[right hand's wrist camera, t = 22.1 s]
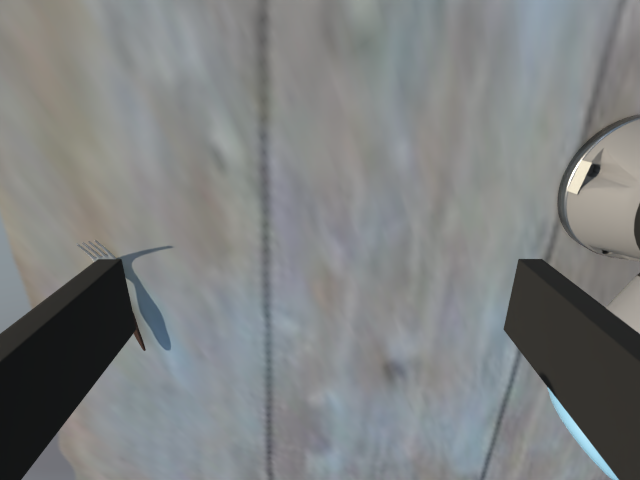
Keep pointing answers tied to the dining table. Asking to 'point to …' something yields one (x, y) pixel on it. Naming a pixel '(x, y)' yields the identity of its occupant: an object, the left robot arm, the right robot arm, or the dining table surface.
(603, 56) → the dining table surface
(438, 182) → the dining table surface
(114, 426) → the dining table surface
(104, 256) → the fork
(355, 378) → the dining table surface
